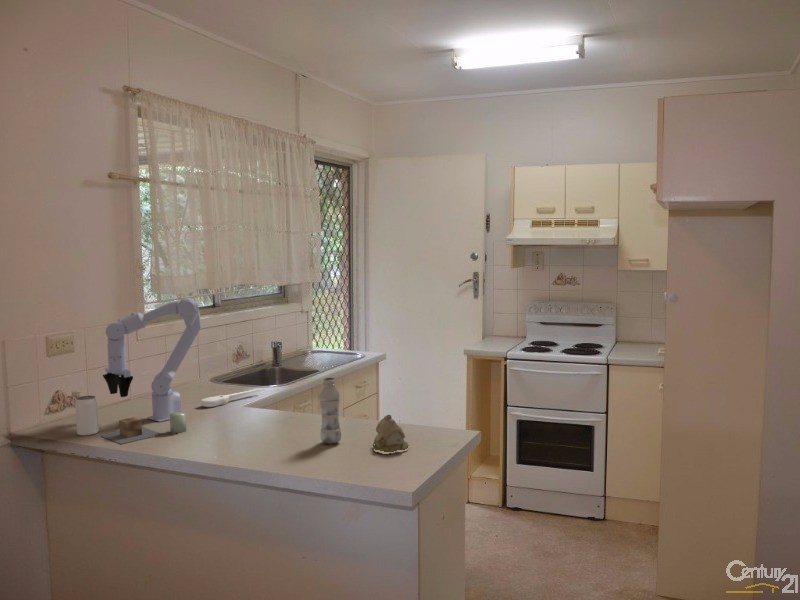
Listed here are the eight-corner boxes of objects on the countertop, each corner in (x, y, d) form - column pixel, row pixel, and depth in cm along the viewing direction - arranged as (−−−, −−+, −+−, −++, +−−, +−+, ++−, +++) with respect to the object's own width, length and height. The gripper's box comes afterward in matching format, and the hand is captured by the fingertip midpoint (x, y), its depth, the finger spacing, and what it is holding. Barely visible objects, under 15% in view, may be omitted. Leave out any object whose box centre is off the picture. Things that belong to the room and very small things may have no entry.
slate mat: (141, 427, 233) (141, 426, 233) (162, 434, 224) (162, 433, 224) (100, 436, 222) (100, 435, 222) (121, 444, 213) (121, 443, 213)
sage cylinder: (181, 428, 230) (180, 411, 230) (189, 431, 227) (188, 413, 226) (167, 432, 226) (166, 414, 226) (175, 434, 223) (174, 416, 223)
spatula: (256, 394, 281) (256, 387, 281) (265, 396, 278) (265, 389, 277) (197, 406, 260) (197, 399, 260) (206, 409, 256) (206, 401, 256)
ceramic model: (414, 452, 201) (413, 419, 200) (377, 456, 198) (376, 422, 197) (400, 439, 215) (399, 408, 214) (365, 443, 211) (365, 411, 210)
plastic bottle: (325, 447, 207) (323, 382, 205) (317, 441, 213) (315, 378, 211) (344, 444, 210) (343, 379, 208) (336, 438, 216) (335, 376, 214)
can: (90, 436, 222) (88, 400, 221) (72, 435, 224) (70, 399, 223) (102, 431, 229) (100, 395, 228) (85, 430, 230) (83, 395, 229)
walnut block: (134, 431, 226) (133, 417, 226) (142, 434, 223) (141, 419, 223) (119, 435, 223) (119, 420, 222) (127, 438, 219) (126, 422, 219)
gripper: (96, 356, 240) (98, 394, 242) (115, 360, 231) (117, 400, 232) (115, 353, 246) (117, 390, 247) (135, 357, 236) (137, 396, 237)
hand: (118, 395), depth 240 cm, fingers open, 7 cm apart
